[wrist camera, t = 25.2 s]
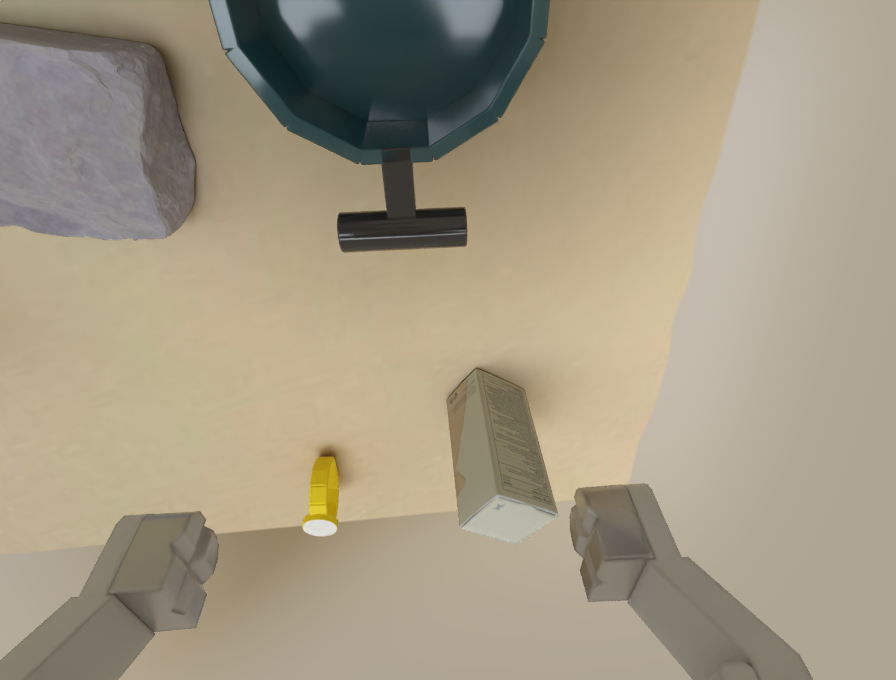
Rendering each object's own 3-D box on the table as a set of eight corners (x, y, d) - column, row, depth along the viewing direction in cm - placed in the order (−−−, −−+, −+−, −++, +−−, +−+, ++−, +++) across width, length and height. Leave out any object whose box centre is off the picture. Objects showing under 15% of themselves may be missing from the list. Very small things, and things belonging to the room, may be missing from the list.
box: (444, 399, 39) (453, 528, 30) (476, 365, 37) (495, 494, 28) (496, 421, 41) (517, 548, 33) (529, 390, 39) (561, 517, 30)
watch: (308, 445, 42) (295, 507, 37) (341, 444, 42) (332, 506, 37) (318, 485, 46) (307, 547, 41) (348, 484, 46) (340, 545, 41)
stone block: (218, 207, 30) (164, 22, 22) (191, 260, 27) (117, 67, 19) (8, 186, 29) (-126, -17, 21) (-44, 238, 26) (-224, 24, 18)
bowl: (154, -258, 14) (74, -313, 11) (572, -266, 15) (619, -323, 11) (281, 216, 24) (259, 264, 21) (529, 204, 25) (547, 250, 21)
